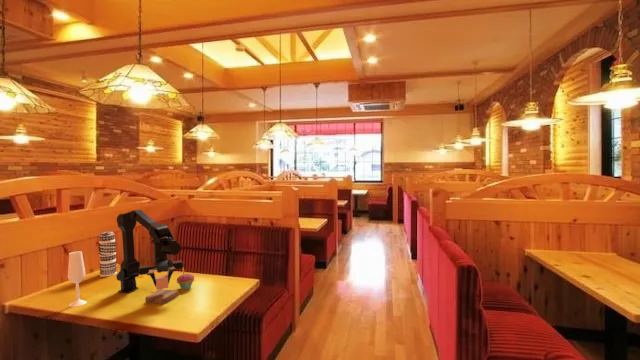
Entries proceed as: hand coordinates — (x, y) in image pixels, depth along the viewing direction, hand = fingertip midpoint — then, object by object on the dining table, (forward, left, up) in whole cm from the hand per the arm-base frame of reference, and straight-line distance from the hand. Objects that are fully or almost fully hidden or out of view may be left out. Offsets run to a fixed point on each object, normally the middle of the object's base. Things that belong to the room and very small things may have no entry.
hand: (161, 285), depth 160 cm
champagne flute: (-35, -13, -7) cm, 38 cm away
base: (0, 0, -7) cm, 7 cm away
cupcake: (+2, +15, -7) cm, 17 cm away
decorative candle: (-57, +25, -7) cm, 63 cm away
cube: (0, 0, -1) cm, 1 cm away
